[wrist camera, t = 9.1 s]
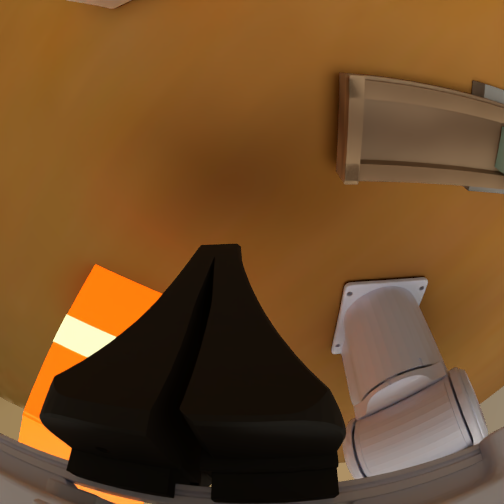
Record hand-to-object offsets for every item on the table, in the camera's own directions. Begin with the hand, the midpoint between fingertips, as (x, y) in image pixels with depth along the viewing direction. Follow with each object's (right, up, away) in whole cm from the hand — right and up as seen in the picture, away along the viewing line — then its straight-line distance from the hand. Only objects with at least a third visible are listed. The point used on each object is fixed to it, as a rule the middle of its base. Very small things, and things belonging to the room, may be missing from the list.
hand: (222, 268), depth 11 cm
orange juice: (-10, -5, +17) cm, 20 cm away
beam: (+19, +9, +6) cm, 22 cm away
